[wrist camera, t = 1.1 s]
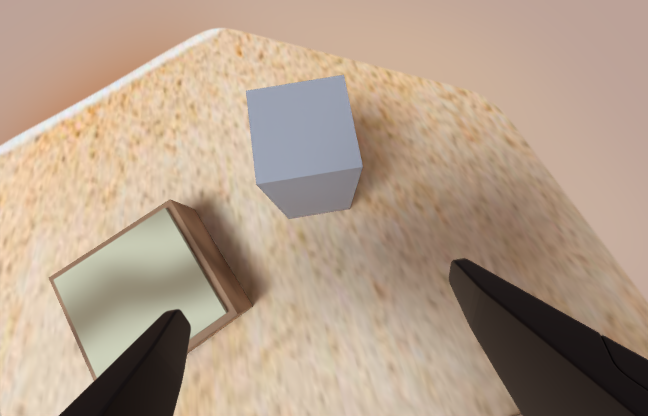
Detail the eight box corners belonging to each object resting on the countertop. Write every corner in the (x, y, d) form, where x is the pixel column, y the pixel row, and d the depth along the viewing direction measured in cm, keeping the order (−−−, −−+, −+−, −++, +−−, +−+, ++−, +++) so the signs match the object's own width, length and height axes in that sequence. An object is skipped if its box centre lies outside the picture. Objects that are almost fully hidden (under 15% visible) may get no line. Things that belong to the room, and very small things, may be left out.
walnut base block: (252, 306, 21) (236, 315, 18) (144, 384, 20) (102, 411, 17) (194, 209, 23) (167, 198, 19) (92, 276, 22) (44, 278, 18)
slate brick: (349, 208, 23) (362, 166, 13) (288, 218, 23) (256, 184, 13) (339, 152, 24) (343, 74, 14) (281, 162, 24) (245, 90, 14)
